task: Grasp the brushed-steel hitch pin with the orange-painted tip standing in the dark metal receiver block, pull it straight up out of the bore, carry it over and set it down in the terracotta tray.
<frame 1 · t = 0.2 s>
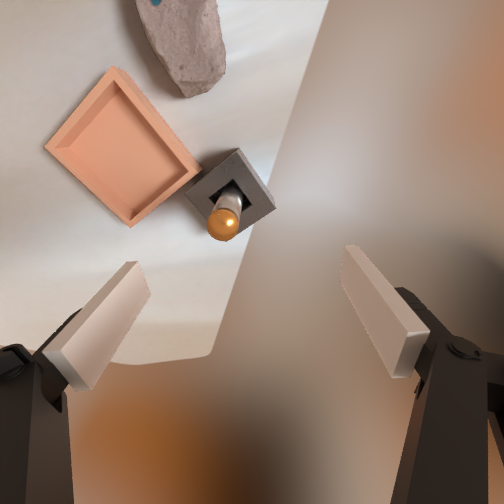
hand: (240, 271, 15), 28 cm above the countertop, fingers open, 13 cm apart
pin: (229, 205, 33), in the receiver block
tray: (134, 157, 37), on the countertop
decorative stone: (189, 31, 30), on the countertop
receiver block: (233, 191, 39), on the countertop
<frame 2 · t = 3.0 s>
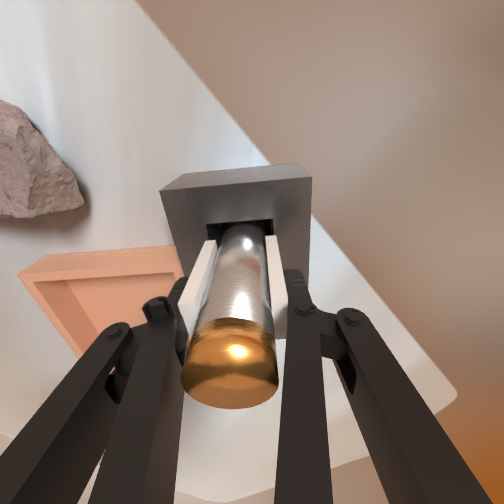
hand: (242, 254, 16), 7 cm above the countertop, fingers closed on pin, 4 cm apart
pin: (241, 265, 15), in the receiver block, touching gripper
tray: (142, 305, 28), on the countertop
decorative stone: (9, 152, 20), on the countertop
receiver block: (245, 221, 22), on the countertop
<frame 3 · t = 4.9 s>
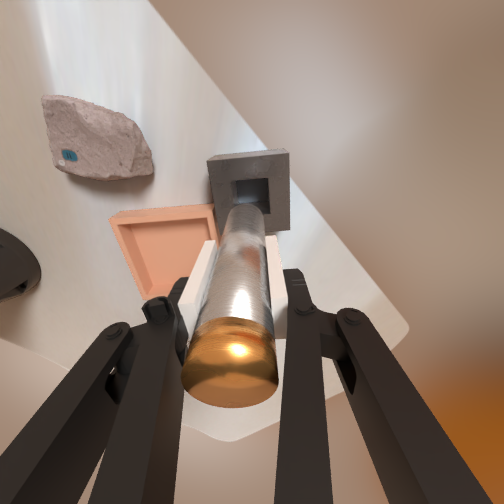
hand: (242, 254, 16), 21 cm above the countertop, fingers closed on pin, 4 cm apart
pin: (241, 264, 15), point 22 cm above the countertop, touching gripper
tray: (180, 250, 40), on the countertop
decorative stone: (108, 141, 32), on the countertop
receiver block: (252, 187, 35), on the countertop
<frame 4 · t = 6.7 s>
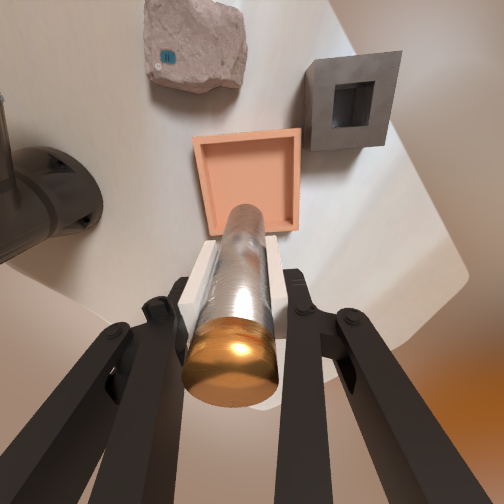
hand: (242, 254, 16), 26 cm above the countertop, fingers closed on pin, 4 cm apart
pin: (241, 265, 15), point 28 cm above the countertop, touching gripper
tray: (250, 183, 40), on the countertop
decorative stone: (197, 53, 31), on the countertop
receiver block: (337, 109, 34), on the countertop
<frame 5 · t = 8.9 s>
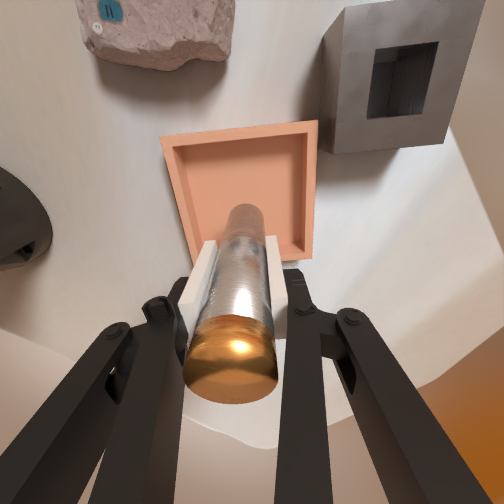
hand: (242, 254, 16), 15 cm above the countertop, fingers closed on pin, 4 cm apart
pin: (241, 264, 15), point 16 cm above the countertop, touching gripper
tray: (246, 197, 29), on the countertop
decorative stone: (161, 11, 21), on the countertop
receiver block: (367, 92, 24), on the countertop
when the fingers open (8 cm above the countertop, at t = 10.5 s): pin stays where it is, resting on tray.
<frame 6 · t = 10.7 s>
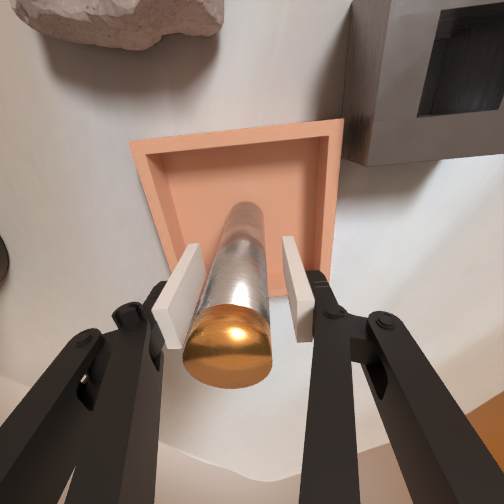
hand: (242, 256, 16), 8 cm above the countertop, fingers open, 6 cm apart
pin: (240, 259, 16), in the tray, point 9 cm above the countertop
tray: (246, 216, 23), on the countertop
receiver block: (408, 82, 18), on the countertop
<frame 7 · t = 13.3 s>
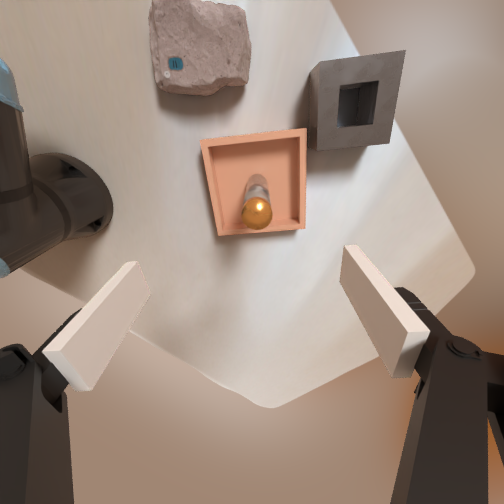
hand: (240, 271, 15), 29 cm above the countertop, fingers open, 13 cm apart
pin: (257, 196, 33), in the tray, point 9 cm above the countertop
tray: (257, 183, 40), on the countertop
decorative stone: (201, 57, 32), on the countertop
receiver block: (342, 108, 34), on the countertop
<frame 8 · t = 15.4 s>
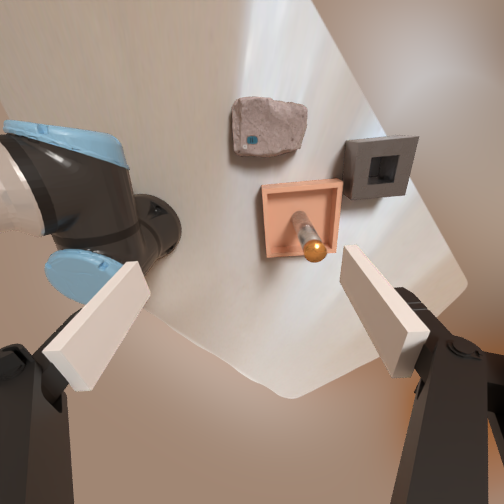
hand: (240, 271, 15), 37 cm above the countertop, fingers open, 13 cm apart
pin: (306, 233, 44), in the tray, point 9 cm above the countertop
tray: (298, 217, 51), on the countertop
decorative stone: (265, 128, 43), on the countertop
receiver block: (368, 165, 46), on the countertop
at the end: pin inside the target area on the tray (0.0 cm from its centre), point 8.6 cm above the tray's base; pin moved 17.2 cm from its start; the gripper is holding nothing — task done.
